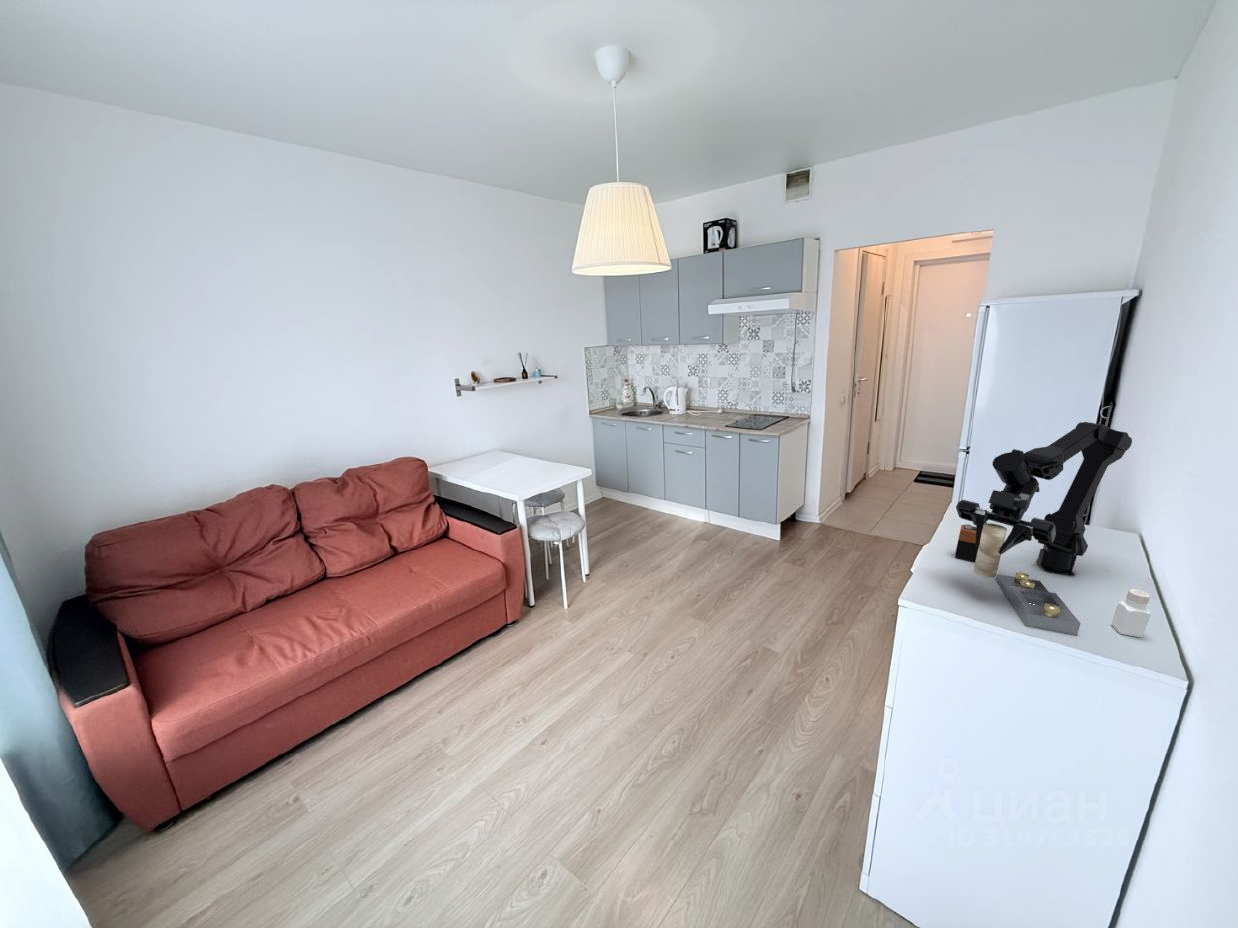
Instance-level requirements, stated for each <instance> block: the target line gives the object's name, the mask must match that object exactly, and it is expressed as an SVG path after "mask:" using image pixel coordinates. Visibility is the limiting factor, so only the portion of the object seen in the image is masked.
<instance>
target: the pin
mask: <svg viewBox="0 0 1238 928" xmlns="http://www.w3.org/2000/svg"><path fill="white" fill-rule="evenodd" d="M1007 532H1008V528H1007V527H1005V526H1003V525H1001V524H998V523H997V524H996V523H989V522H988V523H986V524H984V525H983V530H982V534H981V539H980V543H979V548H978V552H977V556H976V561H975V562H974V566H973V572H974V573H975V574H977V575H978V576H981V577H985V578H988V579H989V578H990V579H991V578H996V576H997V574H998V569H999V564H1000V560H1001V558H1002V557H1001V556H1002V554H999V551H1000V549H1001V547H1002V545H1003V543H1004V542H1005V540H1006V536H1007Z"/></svg>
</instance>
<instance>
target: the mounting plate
mask: <svg viewBox="0 0 1238 928" xmlns="http://www.w3.org/2000/svg"><path fill="white" fill-rule="evenodd" d="M995 580H996V581H997V583H998V585H999V586H1000V588H1001V590H1002V591H1003V593H1004V594H1005V596H1006V598H1007V597H1008V598H1007V599H1008V601H1009V600H1010V601H1009V602H1010V605H1013V606H1012V607H1013V609H1014V610H1015V612H1016V614H1017V615H1018V616H1019V618H1020V620H1021V622H1022V623H1023V624H1024V626H1025V627H1030V628H1036V629H1040V630H1047V631H1051V632H1056V633H1062V634H1067V635H1073V636H1078V633H1079V630H1080V626H1081V622H1080V621H1079V619H1078V618H1077V617H1076V616H1075V615H1074V613H1073V612H1072V611H1071V610H1070V608H1069V607H1068V606H1067V605H1066V604H1065V603H1064V601H1063V600H1062V599H1061V598H1060V596H1059V595H1058V594H1057V593H1055V592H1052V591H1050V592H1049V590H1048V589H1047V587H1046V586H1045V585H1044V584H1043V582H1041V580H1038V579H1037V580H1036V579H1030V575H1029V574H1027V573H1025V572H1022V571H1021V572H1020V571H1018V572H1017V571H1016V573H1015V575H1014V576H1011V575H1005V574H1001V573H997V574H996V577H995ZM1029 603H1031V604H1029ZM1033 604H1035V605H1033Z"/></svg>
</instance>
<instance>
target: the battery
mask: <svg viewBox="0 0 1238 928" xmlns="http://www.w3.org/2000/svg"><path fill="white" fill-rule="evenodd" d="M975 543H976V526H973V525H971V524H970V523H965V524H961V525H960V530H959V534H958V539H957V544H956V547H955V548H956V549H955V558H956V559H959V560H964V561H968V562H973V563H975V561H976V556H977V552H978V548H979V546H978V547H976V545H975Z"/></svg>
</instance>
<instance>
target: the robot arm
mask: <svg viewBox="0 0 1238 928" xmlns="http://www.w3.org/2000/svg"><path fill="white" fill-rule="evenodd" d="M1132 444H1133V439H1132V437H1130V436H1129V433H1128V432H1126V431H1121V430H1120V431H1119V430H1116V429H1112V428H1110V427H1109V426H1106V425H1104V424H1102V423H1096V422H1095V423H1094V422H1089V421H1083V422H1078V423H1077V424H1076V426H1075V427H1074V428H1073V429H1072V430H1070V431H1069V432H1067V433H1066V434H1064V435H1063V436H1061V437H1060V438H1058V439H1057V440H1055V441H1053V442H1052V443H1051V444H1049V445H1047V446H1043V447H1042V446H1040V447H1036V448H1033V449H1030V450H1028V451H1026V452H1024V451H1023V450H1019V449H1014V448H1013V449H1012V450H1011V452H1010V451H1009V452H1004V453H1001V454H999V455H998V456H995V457H994V459H993V460H992V467H993V469H994V470H995V472H996V475H998V477H999V480H1000V481H1001V482H1002V483H1004V484H1005V486H1004V487H1003V489H1002V490H1001V491H1000V490H996V489H994V490H992V492H991V495H990V497H989V500H988V504H989V509H990V510H991V511H989V510H987V509H985V508H981V506H980V504H979V503H978V502H974V501H970V500H967V499H962V500H960V501H958V502H957V503H956V506H955V508H956V512H957V515H958V517H959V518H960V519H961V520H965V521H969V522H972V524H973V525H974V526H975V527H976V543H975V545H976V547H978V546H979V543H980V539H981V534H982V530H983V525H984V524H986V523H987V522H988V521H992V522H995V523H999V524H1003V525H1006V526H1010V527H1012V529H1011V532H1010V533H1009V534H1008V536H1007V537H1006V538H1005V541H1004V543H1003V545H1002V547H1001V549H1000V551H999V554H1001V555H1003V554H1004V553H1006V552H1007V551H1009V550H1010V549H1012V548H1013V547H1015V546H1017V545H1019V544H1020V543H1023V542H1025V541H1028V542H1031V541H1032V540H1033V539H1034V540H1036V541H1037V543H1038V544H1042V545H1043V547H1042V548H1040V549H1039V553H1038V556H1037V559H1036V563H1037V564H1038V566H1040V568H1041V569H1042V570H1043V571H1044V572H1049V573H1054V574H1060V575H1067V576H1068V575H1069V576H1074V577H1075V576H1076V573H1075V571H1073V570H1074V567H1075V564H1076V561H1077V557H1078V556H1080V557H1083V556H1084V555H1085V554H1086V552H1087V550H1088V548H1089V545H1088V542H1087V541H1086V539H1085V537H1084V534H1085V531H1086V527H1085V523H1084V519H1083V517H1084V515H1085V513H1086V510H1087V508H1088V506H1089V505H1090V503H1091V501H1092V499H1093V497H1094V495H1095V493H1096V491H1097V489H1098V487H1099V485H1100V484H1101V483H1100V482H1101V481H1102V479H1103V477H1104V476H1105V475H1104V474H1105V472H1106V471H1107V469H1108V467H1109V466H1110V465H1112V464H1114V463H1116V462H1117V461H1118V460H1120V459H1122V458H1123V456H1124V455H1125V453H1126V452H1127V451H1129V449H1130V448H1131V447H1132ZM1080 452H1081V455H1082V457H1083V459H1082V461H1081V464H1080V466H1079V468H1078V470H1077V473H1076V474H1075V476H1074V478H1073V480H1072V481H1071V485H1070V486H1069V488H1068V490H1067V493H1066V495H1065V497H1064V498H1063V501H1062V502H1061V505H1060V507H1059V508H1058V510H1056V511H1055V512H1052V513H1047V514H1046V515H1045V516H1044V518H1043V519H1041V518H1038V517H1033V518H1031V520H1030V521H1027V520H1023V519H1022V518H1023V517H1024V515H1025V513H1026V512H1027V511H1028V509H1029V508H1030V505H1031V503H1032V502H1031V501H1032V499H1033V497H1034V495H1035V493H1039V492H1040V490H1041V489H1040V483H1039V481H1038V480H1037V478H1038V479H1042V480H1047V481H1051V480H1053V479H1054V478H1056V477H1058V476H1059V475H1060V473H1062V472H1063V471H1064V464H1065V463H1066V462H1067V461H1068V460H1070V459H1071V458H1073V457H1074V456H1076V455H1077V454H1079V453H1080ZM1032 537H1033V538H1032Z"/></svg>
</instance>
